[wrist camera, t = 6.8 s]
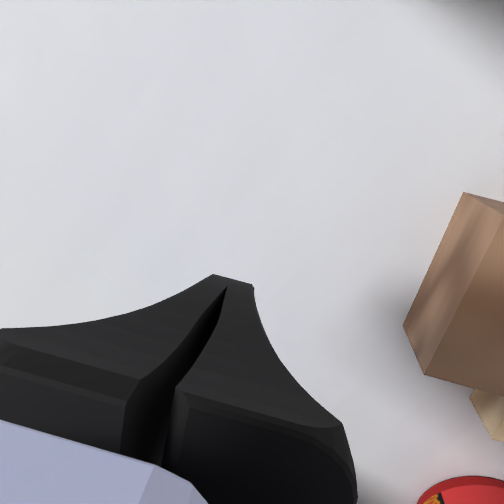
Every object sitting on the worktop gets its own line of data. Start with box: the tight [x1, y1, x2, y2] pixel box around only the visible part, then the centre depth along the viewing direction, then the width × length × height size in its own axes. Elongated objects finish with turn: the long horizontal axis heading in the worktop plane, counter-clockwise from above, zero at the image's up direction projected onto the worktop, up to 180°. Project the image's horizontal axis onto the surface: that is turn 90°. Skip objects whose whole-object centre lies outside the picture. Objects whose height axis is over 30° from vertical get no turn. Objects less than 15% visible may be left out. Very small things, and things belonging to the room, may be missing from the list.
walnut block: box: [403, 192, 504, 397], centre depth 18 cm, size 8×5×4 cm, turn 167°
